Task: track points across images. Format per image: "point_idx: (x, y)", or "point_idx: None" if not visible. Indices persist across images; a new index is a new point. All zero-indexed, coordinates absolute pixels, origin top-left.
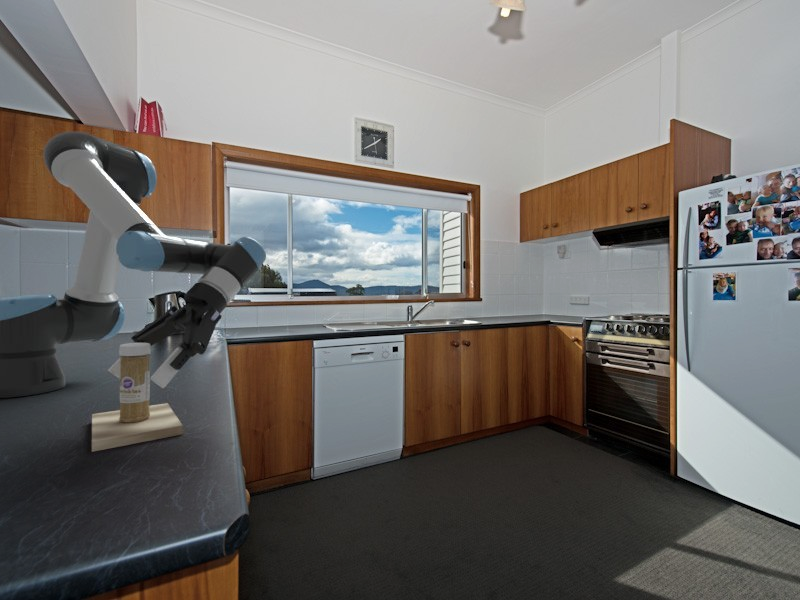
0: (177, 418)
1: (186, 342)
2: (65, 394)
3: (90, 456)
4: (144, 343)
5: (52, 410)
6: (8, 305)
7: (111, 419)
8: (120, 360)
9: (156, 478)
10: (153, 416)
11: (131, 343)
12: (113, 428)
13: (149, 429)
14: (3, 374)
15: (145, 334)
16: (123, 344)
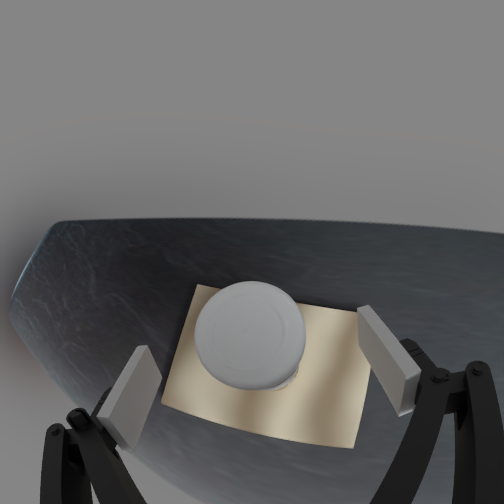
0: (208, 419)
1: (82, 437)
2: None
3: (186, 285)
4: (224, 360)
5: (484, 278)
6: None
7: (308, 335)
8: (370, 329)
9: (75, 310)
10: (263, 397)
11: (275, 325)
12: None
13: (183, 360)
14: None
15: (429, 410)
16: (258, 292)
